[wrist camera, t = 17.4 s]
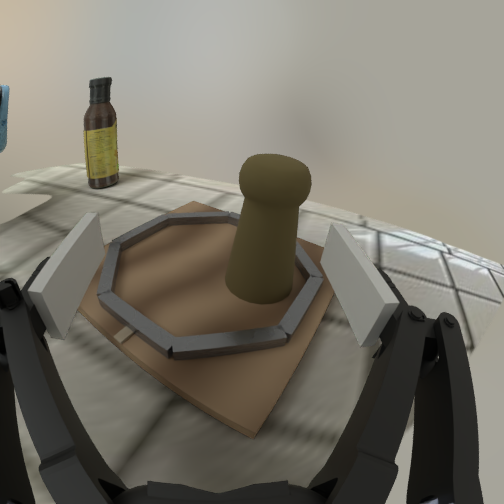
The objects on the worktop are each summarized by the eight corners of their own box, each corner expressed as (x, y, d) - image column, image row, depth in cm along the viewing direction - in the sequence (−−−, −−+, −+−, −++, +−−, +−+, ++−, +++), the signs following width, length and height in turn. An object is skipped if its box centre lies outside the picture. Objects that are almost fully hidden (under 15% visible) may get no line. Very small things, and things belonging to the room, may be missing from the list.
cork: (303, 278, 25) (332, 163, 19) (270, 315, 21) (300, 176, 15) (250, 253, 28) (264, 144, 22) (210, 282, 23) (217, 153, 17)
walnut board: (56, 286, 21) (51, 274, 20) (193, 208, 38) (193, 199, 37) (253, 439, 13) (256, 432, 12) (346, 265, 30) (349, 255, 29)
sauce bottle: (125, 181, 45) (126, 75, 34) (99, 192, 40) (96, 76, 29) (106, 176, 47) (106, 78, 36) (81, 186, 42) (78, 81, 32)
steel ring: (68, 275, 21) (65, 267, 20) (194, 206, 36) (194, 199, 35) (247, 406, 14) (248, 400, 13) (336, 258, 29) (338, 250, 28)
